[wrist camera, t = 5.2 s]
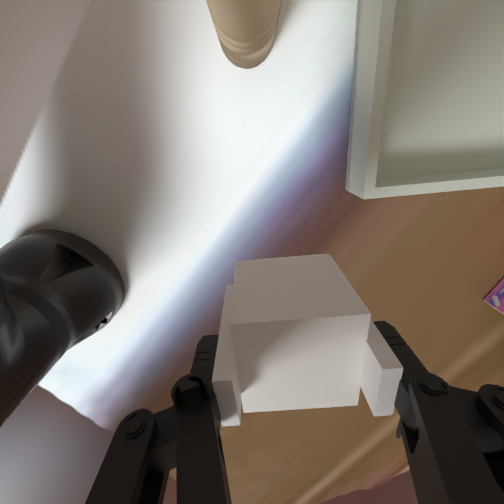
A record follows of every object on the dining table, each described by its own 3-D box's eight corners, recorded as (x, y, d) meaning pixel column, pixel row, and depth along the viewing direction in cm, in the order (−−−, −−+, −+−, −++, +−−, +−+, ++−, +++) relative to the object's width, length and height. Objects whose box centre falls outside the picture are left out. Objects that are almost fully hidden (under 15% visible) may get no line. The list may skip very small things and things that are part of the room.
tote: (345, 189, 28) (363, 199, 24) (366, -133, 18) (403, -221, 14) (524, 172, 28) (577, 179, 23) (646, -173, 18) (782, -280, 13)
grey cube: (245, 331, 17) (243, 412, 12) (236, 261, 15) (229, 324, 10) (325, 326, 17) (357, 405, 12) (328, 253, 15) (371, 313, 10)
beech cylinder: (223, 71, 24) (211, 41, 16) (215, 2, 22) (197, -66, 14) (275, 65, 24) (285, 32, 16) (271, -5, 22) (282, -78, 14)
